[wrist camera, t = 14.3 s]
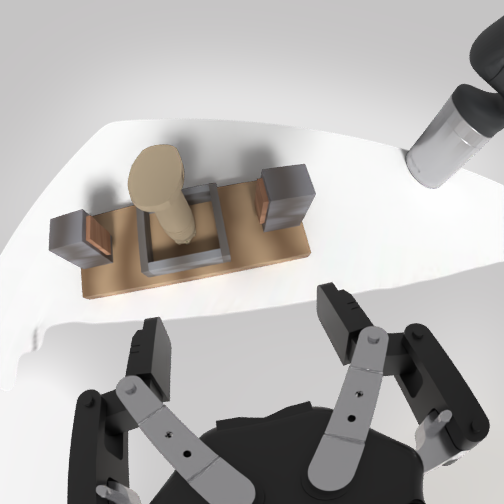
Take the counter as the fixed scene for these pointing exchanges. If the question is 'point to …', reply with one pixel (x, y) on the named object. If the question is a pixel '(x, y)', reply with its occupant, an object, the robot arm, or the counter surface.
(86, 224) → the brown and grey holder
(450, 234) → the counter surface
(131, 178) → the handle
